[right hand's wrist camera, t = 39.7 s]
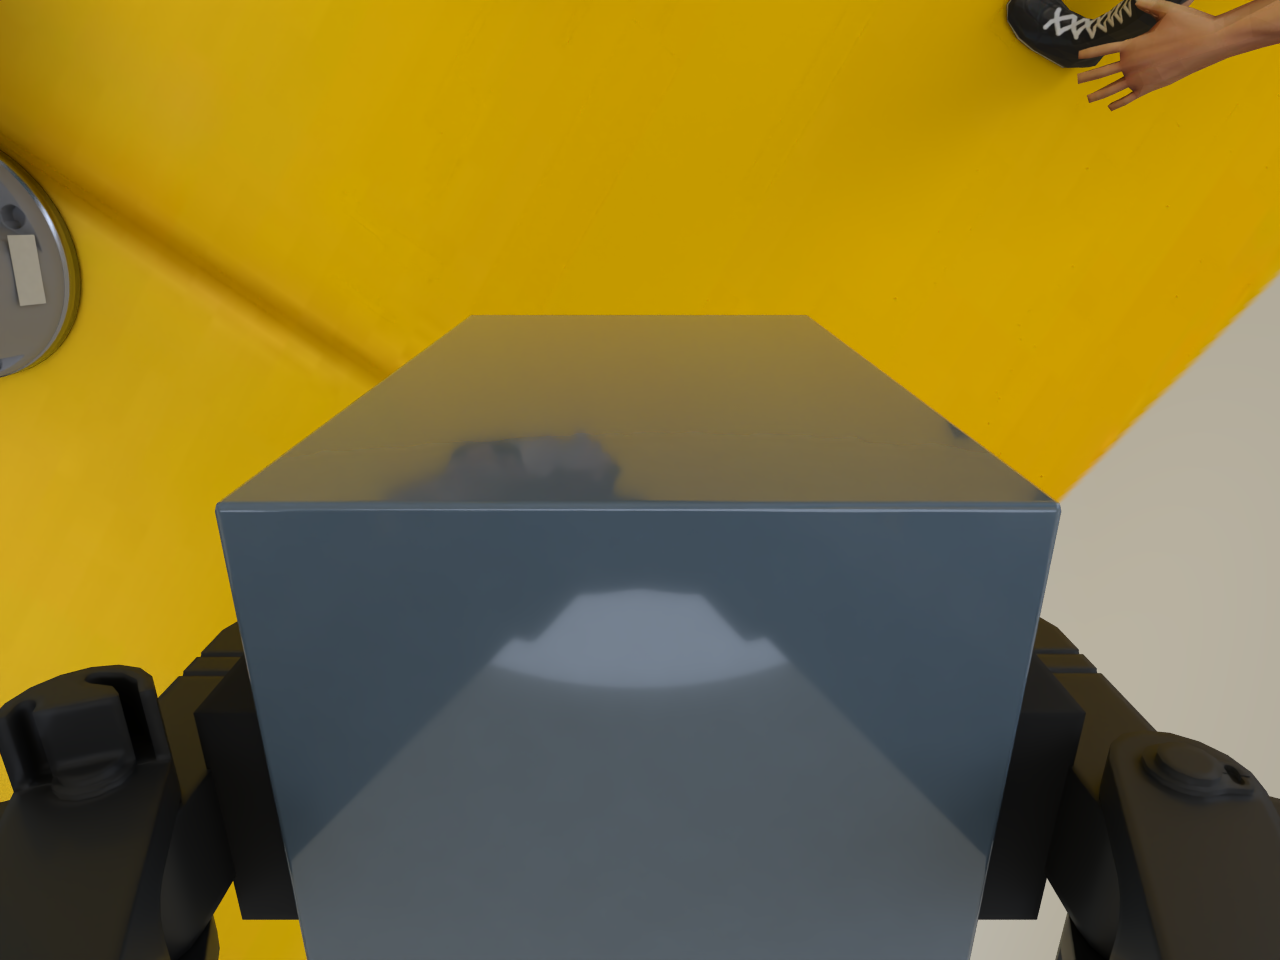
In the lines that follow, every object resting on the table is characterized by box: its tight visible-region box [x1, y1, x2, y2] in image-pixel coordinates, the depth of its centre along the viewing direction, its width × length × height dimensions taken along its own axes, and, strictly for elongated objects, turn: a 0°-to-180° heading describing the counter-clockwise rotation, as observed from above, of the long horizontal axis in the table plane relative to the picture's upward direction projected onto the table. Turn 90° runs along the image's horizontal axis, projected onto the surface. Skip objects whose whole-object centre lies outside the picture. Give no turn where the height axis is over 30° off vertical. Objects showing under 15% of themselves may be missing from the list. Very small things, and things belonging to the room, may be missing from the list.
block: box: [215, 315, 1061, 960], centre depth 13 cm, size 8×7×11 cm
